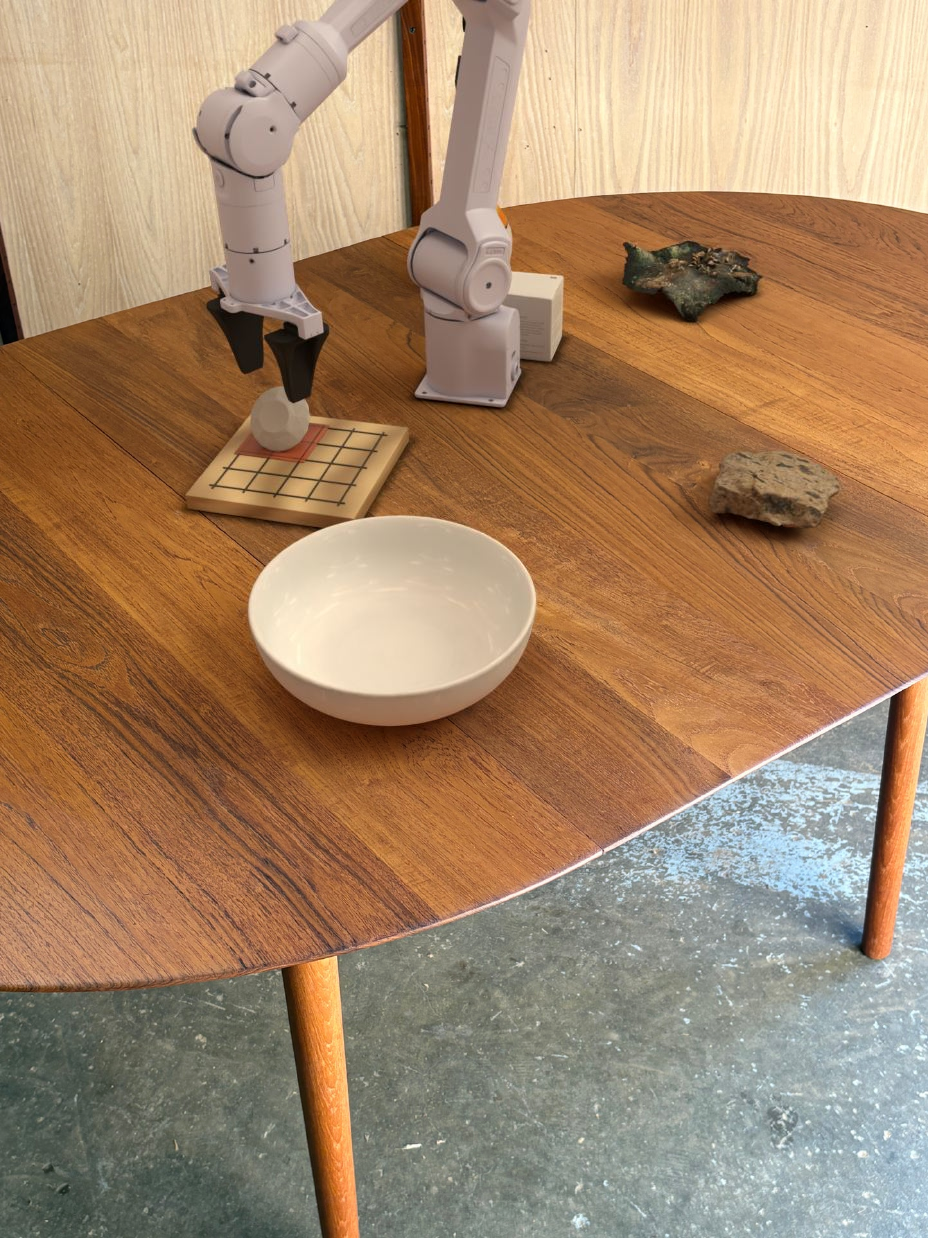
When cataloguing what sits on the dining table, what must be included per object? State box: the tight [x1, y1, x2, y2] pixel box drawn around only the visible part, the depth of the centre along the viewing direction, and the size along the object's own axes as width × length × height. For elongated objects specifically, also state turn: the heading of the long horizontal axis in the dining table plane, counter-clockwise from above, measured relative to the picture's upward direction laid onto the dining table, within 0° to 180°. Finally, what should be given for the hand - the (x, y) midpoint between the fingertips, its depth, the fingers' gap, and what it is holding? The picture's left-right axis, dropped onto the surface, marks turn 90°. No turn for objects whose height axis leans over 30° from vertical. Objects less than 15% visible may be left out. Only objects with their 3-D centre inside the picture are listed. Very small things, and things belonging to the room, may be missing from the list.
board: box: [184, 413, 410, 529], centre depth 114 cm, size 16×16×2 cm
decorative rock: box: [621, 240, 764, 322], centre depth 144 cm, size 19×6×15 cm
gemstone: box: [250, 385, 311, 452], centre depth 115 cm, size 6×6×5 cm
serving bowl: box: [247, 515, 537, 727], centre depth 90 cm, size 21×21×7 cm
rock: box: [707, 450, 843, 530], centre depth 107 cm, size 11×11×4 cm
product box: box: [501, 270, 565, 362], centre depth 131 cm, size 6×6×7 cm
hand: (275, 383), depth 112 cm, fingers open, 7 cm apart
